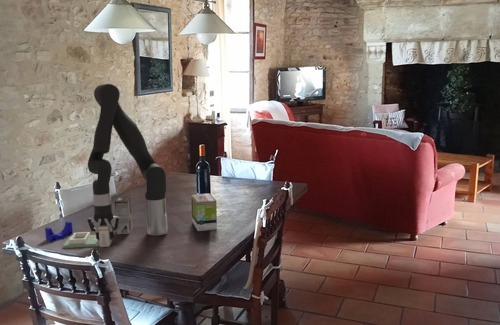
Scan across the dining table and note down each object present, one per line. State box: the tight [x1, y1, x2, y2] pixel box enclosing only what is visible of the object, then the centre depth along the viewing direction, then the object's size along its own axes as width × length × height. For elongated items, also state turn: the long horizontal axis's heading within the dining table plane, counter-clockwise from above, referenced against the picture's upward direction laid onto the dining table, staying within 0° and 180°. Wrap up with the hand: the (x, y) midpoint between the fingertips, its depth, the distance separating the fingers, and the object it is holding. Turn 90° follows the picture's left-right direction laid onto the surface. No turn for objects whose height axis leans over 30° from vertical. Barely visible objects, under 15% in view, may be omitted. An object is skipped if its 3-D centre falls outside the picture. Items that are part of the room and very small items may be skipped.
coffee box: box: [114, 196, 133, 235], centre depth 235 cm, size 9×6×16 cm
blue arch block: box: [44, 220, 74, 243], centre depth 229 cm, size 12×4×6 cm, turn 143°
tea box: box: [190, 192, 218, 232], centre depth 241 cm, size 15×10×15 cm, turn 17°
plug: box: [98, 225, 112, 248], centre depth 218 cm, size 4×6×9 cm
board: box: [62, 231, 100, 249], centre depth 222 cm, size 14×12×3 cm
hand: (105, 239), depth 219 cm, fingers open, 5 cm apart
